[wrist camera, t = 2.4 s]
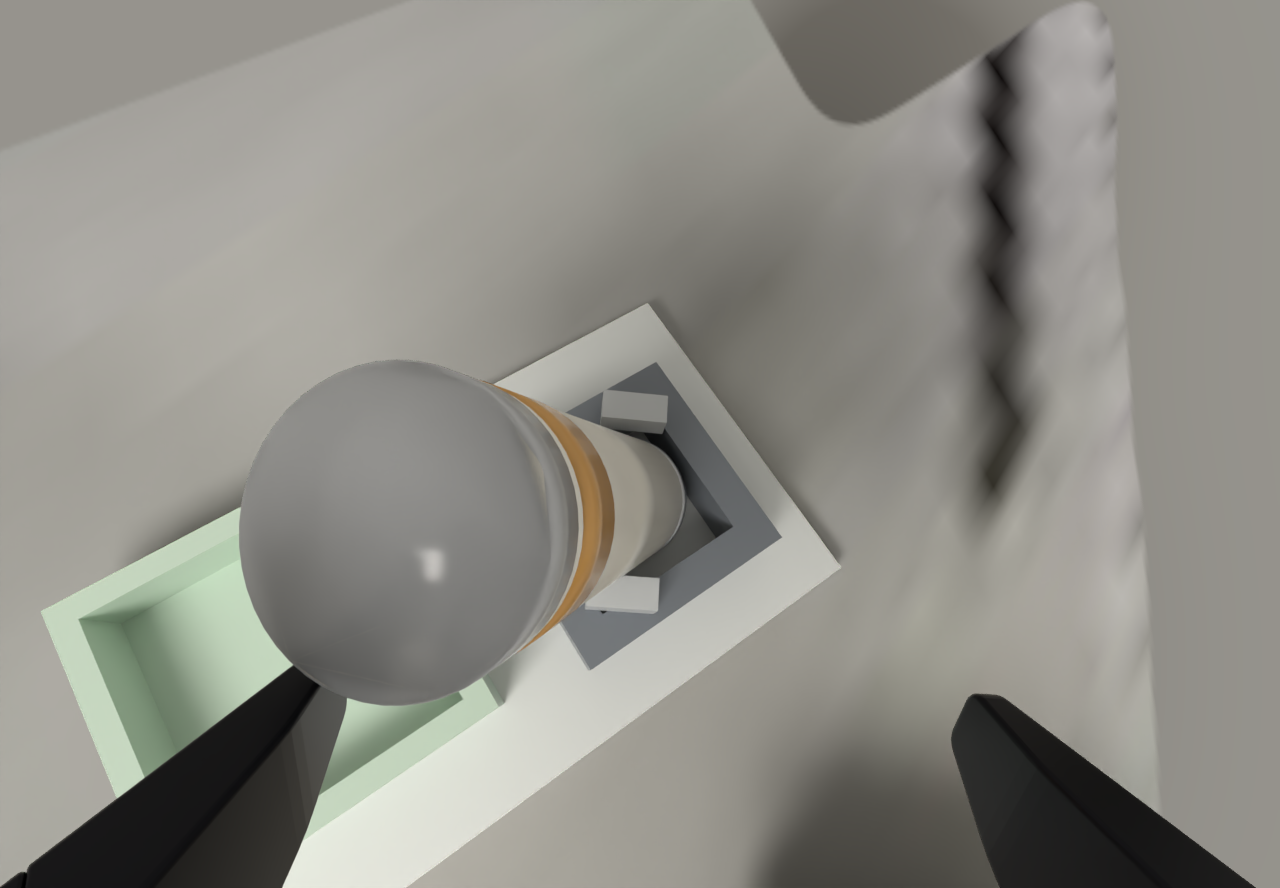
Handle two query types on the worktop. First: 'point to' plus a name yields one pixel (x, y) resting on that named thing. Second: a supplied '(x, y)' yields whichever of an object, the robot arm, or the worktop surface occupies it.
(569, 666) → the panel plate
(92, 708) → the tray
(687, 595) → the block
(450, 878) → the worktop surface
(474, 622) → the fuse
